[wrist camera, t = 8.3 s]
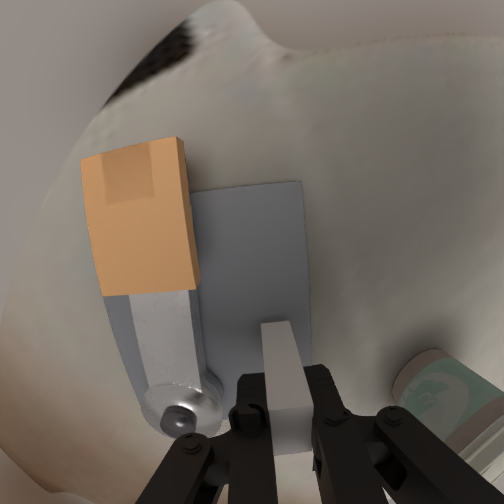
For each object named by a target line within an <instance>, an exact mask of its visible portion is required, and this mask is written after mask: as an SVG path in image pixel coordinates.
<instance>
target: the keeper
mask: <svg viewBox="0 0 504 504" xmlns="http://www.w3.org/2000/svg"><path fill="white" fill-rule="evenodd" d="M81 173H82V184H83V194H84V202H85V210H86V217H87V224H88V230H89V236H90V242H91V247H92V252H93V257H94V262H95V267H96V272H97V276H98V280H99V284H100V288H101V292H102V296H117V295H131V294H145V293H158V292H170V291H182V290H193V289H196V288H197V286H198V284H199V282H200V280H201V276H200V270H199V263H198V257H197V250H196V243H195V237H194V229H193V222H192V214H191V207H190V199H189V187H188V178H187V169H186V159H185V153H184V143H183V141H182V140H180V139H179V138H178V137H176V136H174V137H169V138H164V139H159V140H154V141H149V142H145V143H140V144H136V145H132V146H128V147H124V148H120V149H116V150H112V151H108V152H105V153H101V154H98V155H94V156H91V157H87V158H84V159H81Z"/></svg>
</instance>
